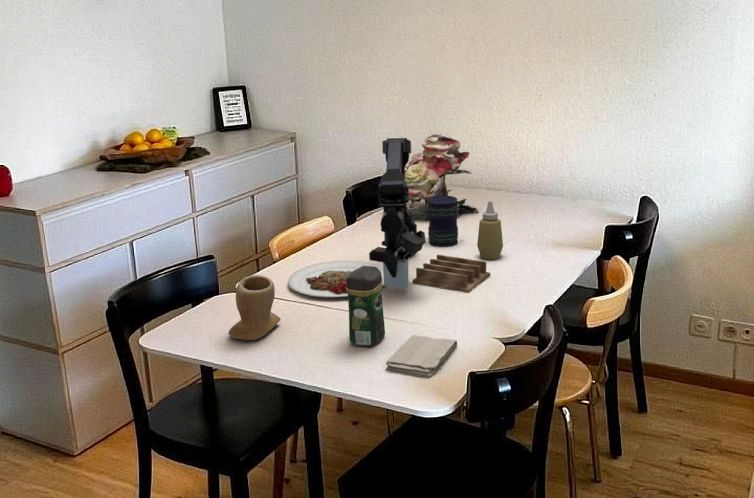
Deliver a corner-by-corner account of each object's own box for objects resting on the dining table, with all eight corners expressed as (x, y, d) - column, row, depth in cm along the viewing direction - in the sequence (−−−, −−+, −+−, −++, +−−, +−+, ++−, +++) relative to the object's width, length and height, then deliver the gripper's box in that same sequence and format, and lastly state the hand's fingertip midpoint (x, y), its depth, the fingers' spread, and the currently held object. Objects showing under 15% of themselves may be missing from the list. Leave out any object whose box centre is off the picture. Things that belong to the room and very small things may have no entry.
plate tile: (384, 285, 240) (382, 259, 238) (387, 283, 242) (386, 257, 240) (405, 289, 237) (404, 262, 234) (408, 287, 239) (407, 260, 236)
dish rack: (412, 283, 246) (411, 268, 244) (436, 267, 258) (435, 253, 256) (468, 292, 236) (468, 277, 235) (490, 275, 248) (490, 261, 247)
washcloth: (383, 373, 193) (383, 360, 192) (412, 341, 208) (411, 330, 207) (432, 380, 188) (432, 368, 187) (458, 348, 204) (458, 336, 203)
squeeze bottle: (502, 261, 260) (502, 205, 254) (476, 260, 262) (475, 205, 256) (503, 253, 267) (504, 198, 262) (478, 252, 269) (478, 198, 263)
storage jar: (443, 249, 274) (442, 205, 269) (422, 243, 281) (421, 199, 276) (464, 242, 280) (464, 198, 275) (443, 236, 287) (442, 193, 282)
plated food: (342, 259, 269) (342, 249, 268) (411, 280, 248) (410, 269, 247) (267, 285, 249) (266, 275, 248) (335, 310, 229) (334, 299, 228)
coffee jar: (360, 330, 215) (356, 261, 209) (388, 334, 212) (386, 264, 206) (344, 345, 206) (340, 274, 201) (374, 349, 204) (371, 278, 198)
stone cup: (263, 346, 208) (258, 290, 203) (222, 340, 213) (216, 285, 208) (293, 323, 221) (288, 269, 216) (254, 317, 226) (249, 265, 221)
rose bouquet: (419, 201, 331) (416, 125, 322) (484, 210, 315) (484, 131, 305) (381, 217, 312) (377, 137, 302) (449, 228, 295) (447, 144, 286)
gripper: (402, 236, 222) (404, 291, 227) (435, 217, 237) (436, 269, 242) (366, 231, 228) (369, 285, 233) (401, 213, 243) (402, 264, 248)
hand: (396, 276), depth 238 cm, fingers closed on plate tile, 2 cm apart
